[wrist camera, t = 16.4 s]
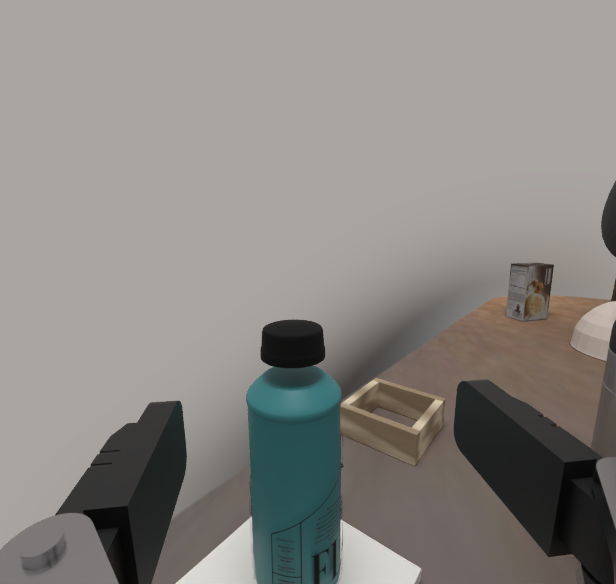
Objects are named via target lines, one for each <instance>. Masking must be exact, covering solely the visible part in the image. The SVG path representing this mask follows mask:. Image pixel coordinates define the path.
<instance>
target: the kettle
mask: <svg viewBox="0 0 616 584" xmlns="http://www.w3.org/2000/svg"><path fill="white" fill-rule="evenodd" d="M615 320H616V301H613V302H607V303H605V304H602V305H600V306H598V307H595V308H594V309H592V310H591V311H589V312H588V313H587V314H585V315H584V316H583V317H582V318H581V319H580V321H579V322H578V323H577V325H576V326H575V329H574V333H573V336H572V340H571V342H570V343H571V346H572V347H574V348H575V349H576V350H577V351H579V352H581V353H583V354H585V355H588V356H591V357H593V358H596V359H599V360H603V361H606V360H607V354H608V349H609V342H610V336H611V330H612V327H613V324H614V322H615Z"/></svg>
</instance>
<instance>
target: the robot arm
mask: <svg viewBox="0 0 616 584" xmlns="http://www.w3.org/2000/svg"><path fill="white" fill-rule="evenodd" d="M601 229H602V237H603V240H604V242H605V245H606V247H607V248H608V250H609V251H610V252H611V254H613V255H614V256H615V257H616V181H615V183H614V185H613V187H612V189H611V191H610V193H609V196H608V199H607V201H606V204H605V207H604V211H603V215H602V221H601ZM454 437H455V440H456V443H457V446H458V448H459V450H460V451H461V452H462V454H463V455H464V456H465V457H466V458H467V460H468V461H469V462H470V463H471V464H472V466H473V467H474V468H475V469H476V470H477V472H478V473H479V474H480V475H481V476H482V478H483V479H484V480H485V481H486V482H487V484H488V485H489V486H490V487H491V488H492V490H493V491H494V492H495V493H496V494H497V496H498V497H499V498H500V499H501V500H502V502H503V503H504V504H505V505H506V506H507V508H508V509H509V510H510V511H511V512H512V514H513V515H514V516H515V517H516V518H517V520H518V521H519V522H520V523H521V524H522V526H523V527H524V528H525V529H526V530H527V532H528V533H529V534H530V535H531V536H532V538H533V539H534V540H535V541H536V542H537V544H538V545H539V546H540V547H541V548H542V550H543V551H544V552H545V553H546V554H547V556H548V557H553V556H560V555H567V554H573V555H574V556H575V557H576V558H577V559H578V562H577V568H576V579H577V584H616V320H615V322H614V324H613V327H612V330H611V336H610V342H609V349H608V354H607V360H606V365H605V371H604V377H603V383H602V389H601V395H600V400H599V406H598V411H597V417H596V422H595V428H594V434H593V439H592V445H591V448H589V447H588V446H586V445H585V444H584V443H582V442H581V441H579V440H578V439H577V438H575V437H574V436H572V435H571V434H570V433H568V432H567V431H565V430H564V429H562V428H561V427H557V425H556V424H555V423H554V422H553V421H551V420H550V419H548V418H547V417H544V416H543V414H541V413H540V412H539V411H537V410H536V409H534V408H533V407H532V406H530V405H529V404H527V403H525V402H523V401H520V400H518V399H516V398H514V397H511V396H510V395H509V394H507V393H506V392H505V391H503V390H502V389H500V388H499V387H498V386H496V385H495V384H494V383H492V382H491V381H489V380H473V381H462V382H460V383H459V385H458V388H457V397H456V408H455V419H454ZM186 454H187V453H186V442H185V431H184V422H183V411H182V405H181V402H180V401H166V402H152V403H150V404H149V405H148V406H147V408H146V409H145V411H144V413H143V414H142V416H141V417H140V419H139V421H138V422H137V423H128V424H126V425H125V426H124V427H122V428H121V429H120V430H118V431H117V432H116V433H114V434H113V435H112V436H110V438H109V439H108V440H107V442H106V443H105V445H104V446H103V448H102V449H101V450H100V454H99V455H97V456H96V458H95V459H94V460H93V462H92V463H91V467H90V468H88V469H87V470H86V472H85V473H84V475H83V476H82V477H81V479H80V480H79V482H78V483H77V485H76V486H75V487H74V489H73V490H72V492H71V493H70V495H69V496H68V498H67V499H66V500H65V502H64V503H63V505H62V506H61V507H60V509H59V510H58V512H57V513H56V515H55V516H53V517H49V518H47V519H44V520H42V521H40V522H37V523H35V524H34V525H32V526H30V527H28V528H27V529H25V530H23V531H22V532H20V533H19V534H18V535H16V536H15V537H14V538H12V539H11V540H10V541H9V542H8V543H7V544H6V545H5V546H4V547H3V548H2V549H1V550H0V584H151V582H152V579H153V576H154V573H155V569H156V566H157V563H158V560H159V557H160V553H161V550H162V547H163V544H164V540H165V537H166V534H167V531H168V528H169V524H170V521H171V518H172V515H173V511H174V508H175V505H176V501H177V498H178V495H179V491H180V489H181V485H182V482H183V479H184V475H185V470H186V460H187V459H186V458H187V455H186Z"/></svg>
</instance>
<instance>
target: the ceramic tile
mask: <svg viewBox="0 0 616 584" xmlns="http://www.w3.org/2000/svg"><path fill="white" fill-rule="evenodd" d="M342 523H343V525H342ZM250 527H251V528H250ZM250 529H251V530H250ZM342 529H343V548H342V545H341V544H342ZM251 531H252V517H251V518H249V519H248V520H247V521H246V522H245V523H244V524H243V525H241V526H240V527H239V528H238V529H237V530H236V531H235V532H234V533H232V534H231V535H230V536H229V537H228V538H227V539H226V540H225V541H223V542H222V543H221V544H220V545H219V546H218V547H217V548H215V549H214V550H213V551H212V552H211V553H210V554H209V555H208V556H206V557H205V558H204V559H203V560H202V561H201V562H200V563H198V564H197V565H196V566H195V567H194V568H193V569H192V570H191V571H189V572H188V573H187V574H186V575H185V576H184V577H183V578H181V579H180V580H179V581H178V582H177V583H176V584H257V581H256V577H255V580H254V577H253V576H254V572H255V565H254V558H253V557H254V556H253V549H252V551H251V548H253V532H252V533H251ZM251 536H252V538H251ZM340 539H341V541H340V546H341V548H340V557H341V560H342V563H341V566H340V572H341V573H342V574H341V573H340V576H339V579H338V582H339V583H338V582H337V584H419V583H420V580H421V568H419V567H418V566H416V565H414V564H413V563H411V562H409V561H408V560H406V559H404V558H403V557H401V556H400V555H398V554H396V553H395V552H393V551H391V550H390V549H388V548H386V547H385V546H383V545H382V544H380V543H378V542H377V541H375V540H373V539H372V538H370V537H368V536H367V535H365V534H364V533H362V532H360V531H359V530H357V529H355V528H354V527H352V526H350V525H349V524H347V523H345V522H344V521H342V520H341V519H340ZM251 541H252V542H251ZM251 544H252V545H251ZM251 546H252V547H251ZM341 549H342V551H343V552H341ZM252 562H253V564H252ZM252 566H253V567H252ZM341 567H342V569H341Z"/></svg>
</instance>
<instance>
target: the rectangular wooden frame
mask: <svg viewBox="0 0 616 584" xmlns="http://www.w3.org/2000/svg"><path fill="white" fill-rule="evenodd" d="M376 407H381V408H384V409H387V410H389V411H392V412H395V413H398V414H401V415H404V416H407V417H409V418H412V419H415V420H418V421H417V422H416V423H415V425H414V426H413V427H412V428H411V427H408V426H405V425H403V424H400V423H397V422H394V421H392V420H389V419H386V418H384V417H381V416H378V415H375V414H373V413H371V412H372V411H373V410H374V409H375V408H376ZM444 411H445V398H441V397H438V396H435V395H431V394H428V393H425V392H421V391H418V390H414V389H411V388H408V387H404V386H401V385H398V384H394V383H391V382H388V381H384V380H381V379H377V378H375V379H374V380H372V381H371V382H370V383H368V384H367V385H366V386H364V387H363V388H362V389H360V390H359V391H358V392H356V393H355V394H354V395H352V396H351V397H350V398H348V399H347V400H346V401H344V402H343V403H342V404H340V429H341V430H340V434H341V433H342V435H344V436H346V437H349V438H351V439H353V440H355V441H358V442H360V443H362V444H365V445H367V446H369V447H372V448H374V449H376V450H378V451H381V452H383V453H385V454H388V455H390V456H392V457H395V458H397V459H399V460H401V461H404V462H406V463H408V464H411V465H413V466H415V465H416V464H417V462H418V461H419V459H420V458H421V457H422V455H423V454H424V452H425V451H426V449H427V448H428V447H429V445H430V444H431V442H432V441H433V439H434V438H435V436H436V435H437V434H438V432H439V431H440V429H441V428H442V426H443V423H444Z"/></svg>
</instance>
